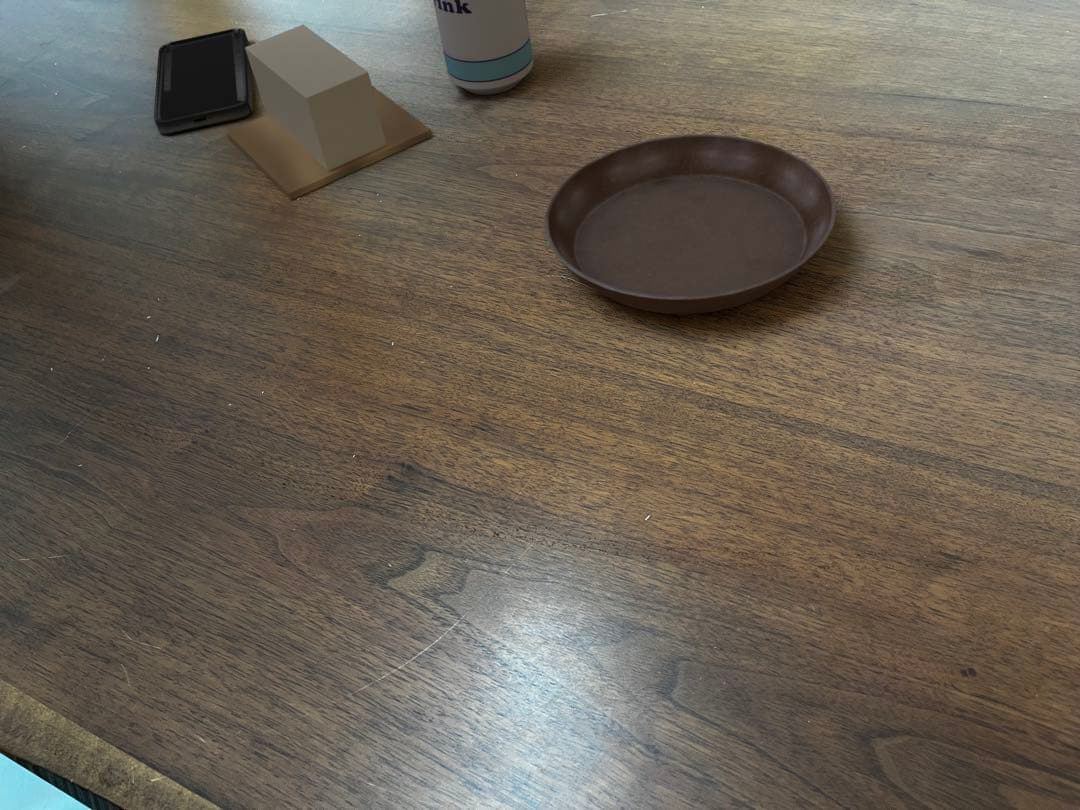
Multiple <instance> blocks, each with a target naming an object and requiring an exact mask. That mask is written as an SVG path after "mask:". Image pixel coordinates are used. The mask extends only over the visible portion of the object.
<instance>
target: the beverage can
mask: <svg viewBox="0 0 1080 810" xmlns="http://www.w3.org/2000/svg"><path fill="white" fill-rule="evenodd" d="M432 3H433V7H434V11H435V17H436V22H437V26H438V31H439V38H440V41H441V47H442V51H443V57H444V62H445V66H446V71H447V77H448V78H449V81H450V82H451V83H453V84H454V85H455V86H457V87H459V88H463V89H465V90H466V91H468V92H470V93H471V94H476V95H481V96H482V95H483V96H485V95H496V94H500V93H504V92H507V91H509V90H510V89H513V88H514V87H516V86H517V85H518V84H519V83H520V82H521V81H522V79H523V78H525V77H526V76H527V75H528V74H530V72H531V71H532V69H533V67H534V55H533V49H532V41H531V34H530V27H529V19H528V13H527V12H528V11H527V6H526V0H432Z"/></svg>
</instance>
